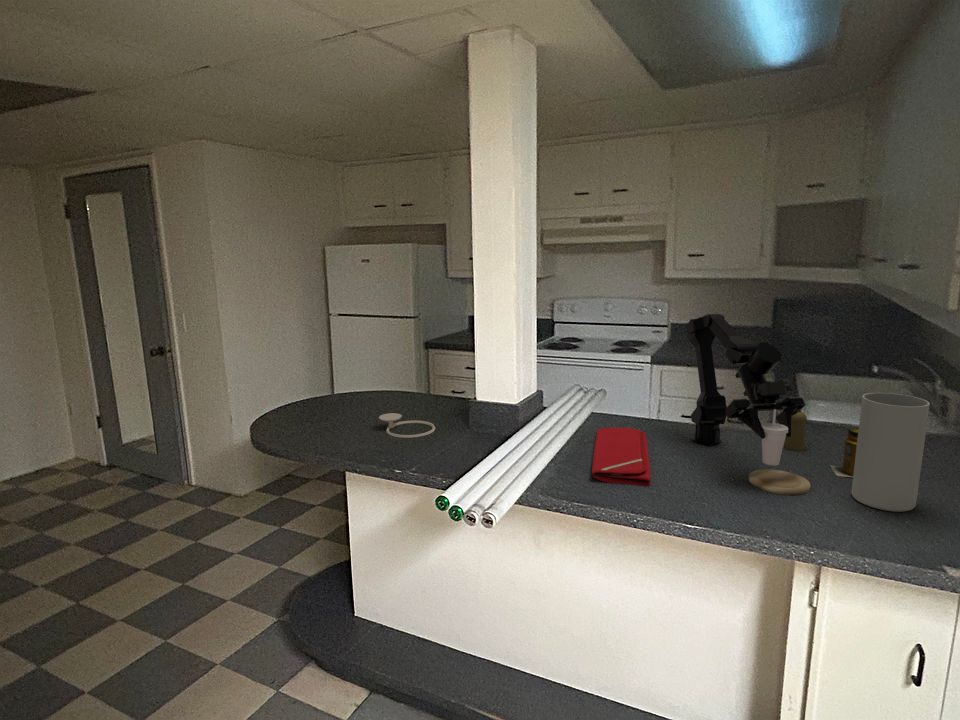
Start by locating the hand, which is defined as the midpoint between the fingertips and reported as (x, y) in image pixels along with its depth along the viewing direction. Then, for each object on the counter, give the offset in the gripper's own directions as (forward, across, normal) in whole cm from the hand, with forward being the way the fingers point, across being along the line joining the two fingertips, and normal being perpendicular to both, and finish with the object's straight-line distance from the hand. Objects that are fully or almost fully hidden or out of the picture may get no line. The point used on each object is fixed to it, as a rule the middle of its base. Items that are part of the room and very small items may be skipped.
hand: (776, 437), depth 141 cm
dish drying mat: (-8, -30, +29) cm, 43 cm away
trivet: (+8, +3, +10) cm, 14 cm away
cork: (-9, +23, +28) cm, 38 cm away
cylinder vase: (+17, +20, +1) cm, 27 cm away
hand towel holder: (-33, -95, +54) cm, 114 cm away
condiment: (+6, +26, +14) cm, 30 cm away
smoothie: (+4, 0, +6) cm, 8 cm away
